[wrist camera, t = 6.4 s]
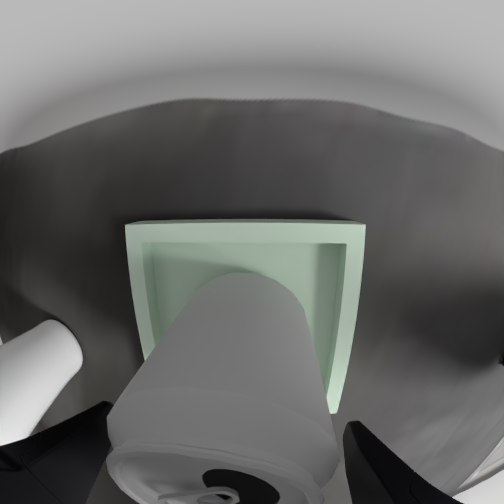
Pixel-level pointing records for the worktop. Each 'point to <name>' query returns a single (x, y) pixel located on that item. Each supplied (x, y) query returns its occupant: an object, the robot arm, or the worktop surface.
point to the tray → (253, 261)
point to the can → (227, 404)
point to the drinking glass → (34, 376)
